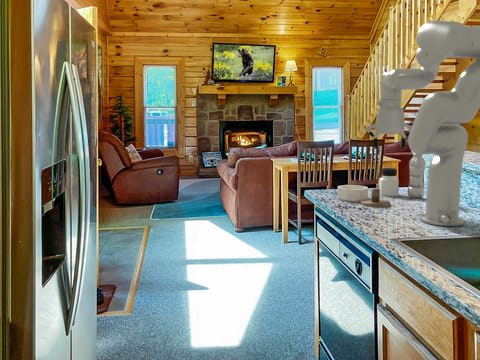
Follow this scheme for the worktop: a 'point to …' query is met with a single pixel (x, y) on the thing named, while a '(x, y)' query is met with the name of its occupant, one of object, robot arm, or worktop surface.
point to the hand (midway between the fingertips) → (388, 148)
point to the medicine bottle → (389, 182)
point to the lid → (375, 200)
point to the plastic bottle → (416, 176)
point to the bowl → (352, 192)
